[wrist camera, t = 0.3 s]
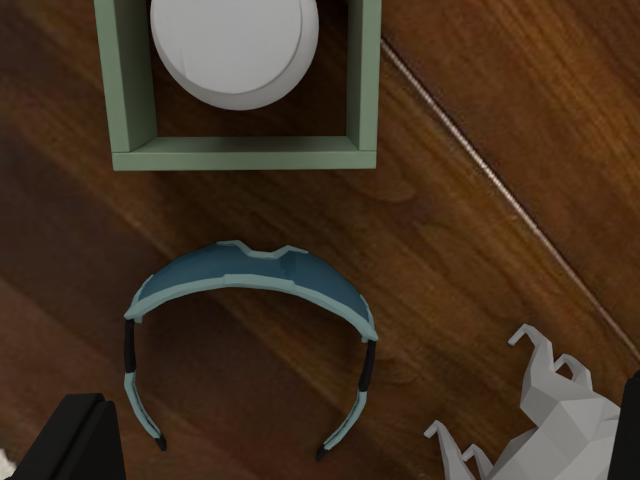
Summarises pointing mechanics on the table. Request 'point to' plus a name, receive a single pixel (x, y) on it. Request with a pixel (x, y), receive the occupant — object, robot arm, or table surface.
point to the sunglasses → (262, 273)
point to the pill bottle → (236, 47)
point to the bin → (229, 152)
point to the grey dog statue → (546, 426)
